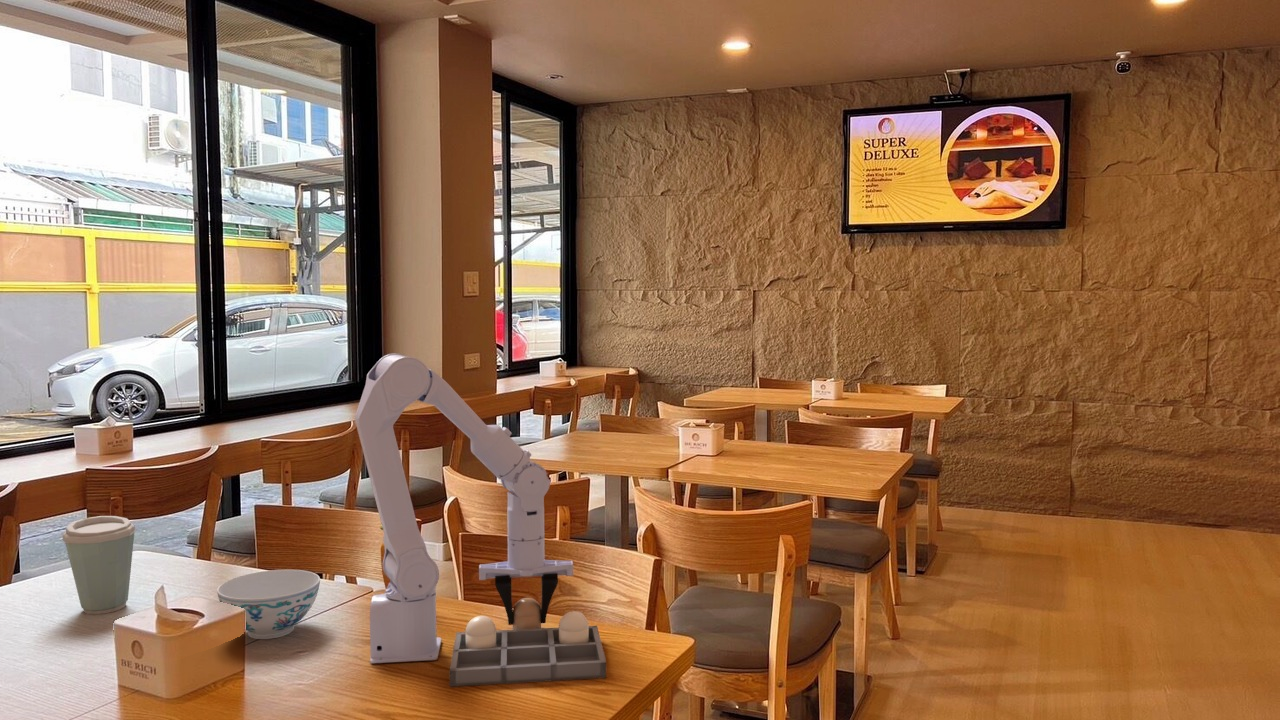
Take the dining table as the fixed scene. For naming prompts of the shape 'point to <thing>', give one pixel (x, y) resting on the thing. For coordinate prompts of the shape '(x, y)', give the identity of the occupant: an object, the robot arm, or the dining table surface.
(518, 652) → the egg carton
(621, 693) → the dining table surface
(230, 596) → the chinaware
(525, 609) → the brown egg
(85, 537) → the disposable coffee cup
